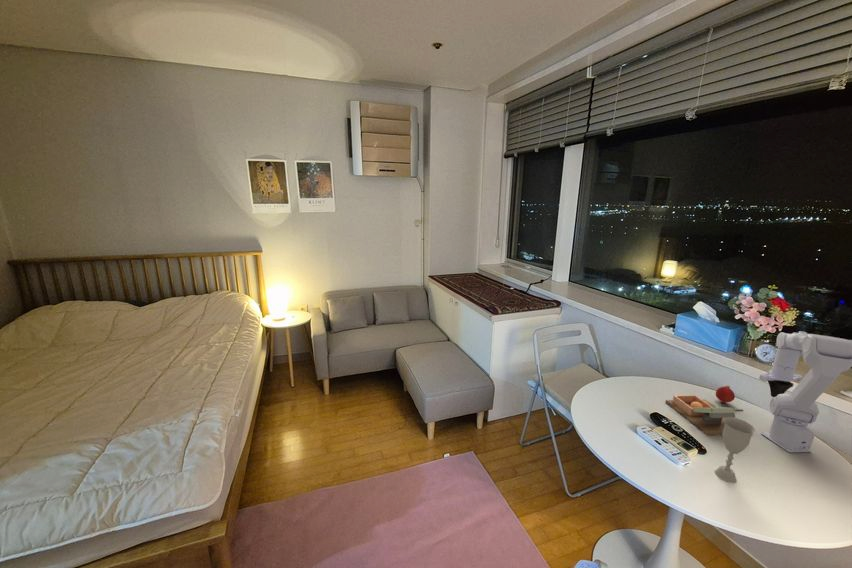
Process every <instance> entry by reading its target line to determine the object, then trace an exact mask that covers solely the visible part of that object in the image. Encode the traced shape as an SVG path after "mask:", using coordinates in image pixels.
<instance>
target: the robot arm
mask: <svg viewBox="0 0 852 568" xmlns="http://www.w3.org/2000/svg"><path fill="white" fill-rule="evenodd" d="M776 347H777V349H776V353H775V356H774V359H773V363H772V366H771V367H772V368H771V369H770V370H768V372H767V373H762V374H760V375H759V380H760V381H762V382H764V383H765V382H766V383H768V386H769V389H770V396H771V397H772V398H771V399H770V402H769V412H770V413H771V414H772V415H773V418H772V422H771V425H770V429H769V431H766V432H765V431H763V432H761V433H760V434H761V435H762V436H763V437H765V438H767V439H769V440H770V441H771V442H773V443H775V444H776V445H777V446H779V447H780V448H781V449H783V450H785V451H786V452H788V453H812V449H811V448H812V444H813V441H814V439H815V433H814V432H813V430H811V429H810V428H808V426H809V424H811V425H812V424H813V423H815V422H816V421H817V418H818V415H819V414H820V412H819V411H820V410H819V407H818V404H817V402H816V400H818V398H820V396H821V395H822V394H824V392H825V391H826V390H827V389H828V388H829V387H830V386H831V385H832V384H833V383H834V382H835V381H836V379H837V378H838V377H839V376H840V374H841V373H843V372H847V371H849V370H850V369H851V368H852V339H846V338H840V337H835V336H829V335H821V334H815V333H808V332H806V331H803V330H801V331H798V332H792V333H786V332H782V331H781V332H779V333H778V334H777V336H776ZM800 357H802V358H803V359H802V360H803V363H804V364H805V365H806V366H808V367H809V368H810V370H809V371H808V372H807V373H806V374H805V375H804V376H803V375H800V374H798V373H795V372H796V371H797V370H796V369H797V366H798V364H799V363H798V362H799V359H800ZM794 381H798V382H799V383H798V384H797V385H796V386H795V388H793V390H792V391H791V393H786V392H787V391H788V390H789V389H791V388H792V387H794V383H793V382H794Z"/></svg>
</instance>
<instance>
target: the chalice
mask: <svg viewBox="0 0 852 568" xmlns="http://www.w3.org/2000/svg"><path fill="white" fill-rule="evenodd" d="M724 422H725V426H724V430H723V435H722V440H723V443H724V446H725V449H726V450H727V452H729V453H728V454H727V456H726V457H727V459H726V460H725V463H726V465H719V467H718V468H716V469H715V470H714V474H715V475H716V476H717V477H718V479H721V480H723V481H725V482H727V483H731V484H732V483H733V484H734V483H737V481H738V480H737V479H738V478H737V476H736V473H735V471H734V470H733V469H732V468H731V466H733V465H734V463H733V462H732V461H733V460H734V459H735V458H734V455H738V454H740V453H742V452H743V451H744V450H746V448H748V446H749V445H750V442H751V439H752V435H753V434H754V433H755V432H756V427H754V426H753V425H752V424H750V423H749V422H747V421H745V420H743V419H740V418H737V417H726V418H724Z"/></svg>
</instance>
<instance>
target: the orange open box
mask: <svg viewBox="0 0 852 568" xmlns="http://www.w3.org/2000/svg"><path fill="white" fill-rule="evenodd" d="M672 400H673V403H674V404H675V405H676V406H678V407H679V408H680V409H682V410H683V411H684V412H686V413H687V414H688V415H689V416H703V414H704V413H703V412H694V411H693V408H691V407H690V406H689V405H687V404H686V403H692V402H699V403H700V404H702V406H703V408H713V407H712V406H710V405H709V404H707V403H706V402H704V401H703V400H702V399H701V398H700V397H698V396H697V395H696V394H691V395H690V394H683V395H681V394H679V395H677V394H676V395H673V398H672Z"/></svg>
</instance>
